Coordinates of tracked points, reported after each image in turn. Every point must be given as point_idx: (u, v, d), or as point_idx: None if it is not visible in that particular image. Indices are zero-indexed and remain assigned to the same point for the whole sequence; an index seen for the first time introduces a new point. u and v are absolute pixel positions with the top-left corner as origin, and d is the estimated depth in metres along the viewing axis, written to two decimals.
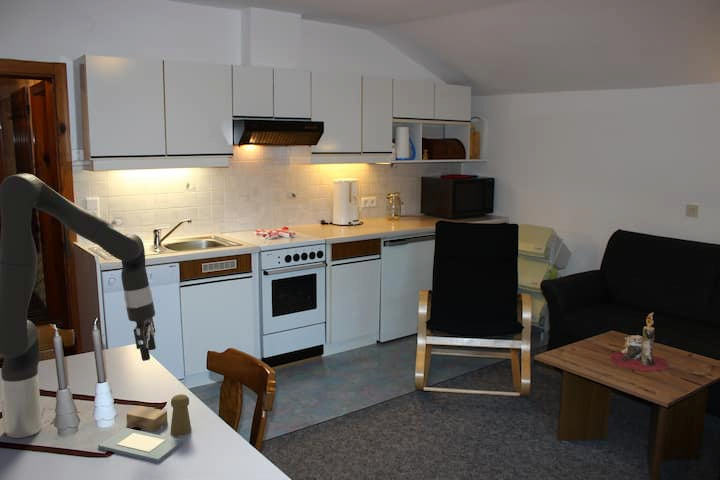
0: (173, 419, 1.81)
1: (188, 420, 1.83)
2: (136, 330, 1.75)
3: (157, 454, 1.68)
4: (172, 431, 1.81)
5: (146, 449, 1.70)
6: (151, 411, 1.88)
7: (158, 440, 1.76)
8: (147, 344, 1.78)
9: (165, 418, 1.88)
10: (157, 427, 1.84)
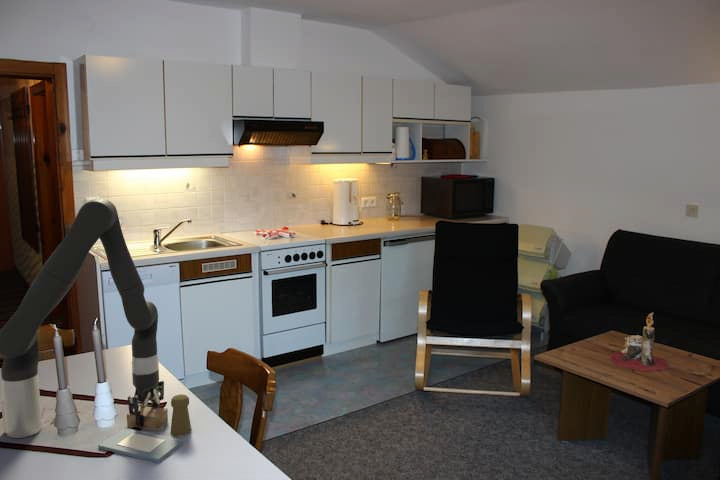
0: (173, 419, 1.81)
1: (188, 420, 1.83)
2: (129, 398, 1.80)
3: (157, 454, 1.68)
4: (172, 431, 1.81)
5: (146, 449, 1.70)
6: (151, 410, 1.88)
7: (158, 440, 1.76)
8: (142, 412, 1.83)
9: (166, 416, 1.89)
10: (160, 425, 1.85)
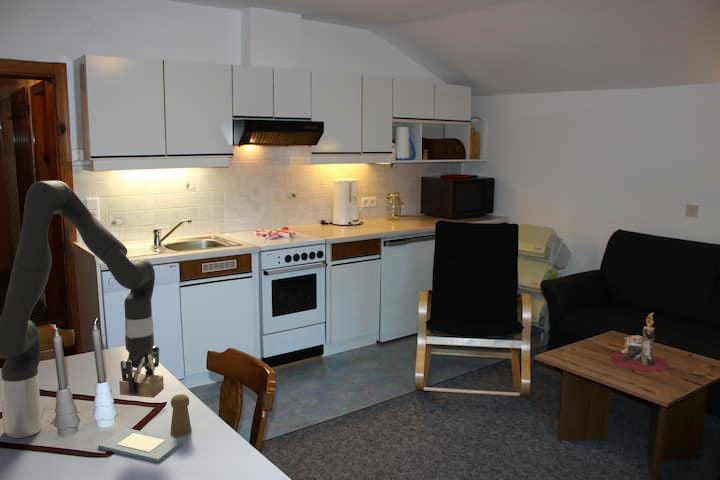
0: (173, 419, 1.81)
1: (188, 420, 1.83)
2: (122, 363, 1.67)
3: (157, 454, 1.68)
4: (172, 431, 1.81)
5: (146, 449, 1.70)
6: (145, 377, 1.75)
7: (158, 440, 1.76)
8: (136, 378, 1.70)
9: (162, 383, 1.76)
10: (156, 392, 1.73)
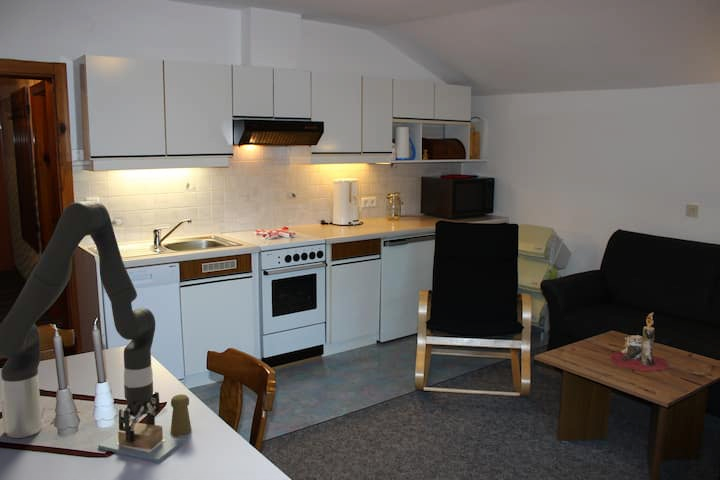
0: (173, 419, 1.81)
1: (188, 420, 1.83)
2: (121, 411, 1.66)
3: (157, 454, 1.68)
4: (172, 431, 1.81)
5: (146, 449, 1.70)
6: (144, 427, 1.75)
7: None
8: (132, 427, 1.69)
9: (160, 433, 1.75)
10: (154, 444, 1.72)
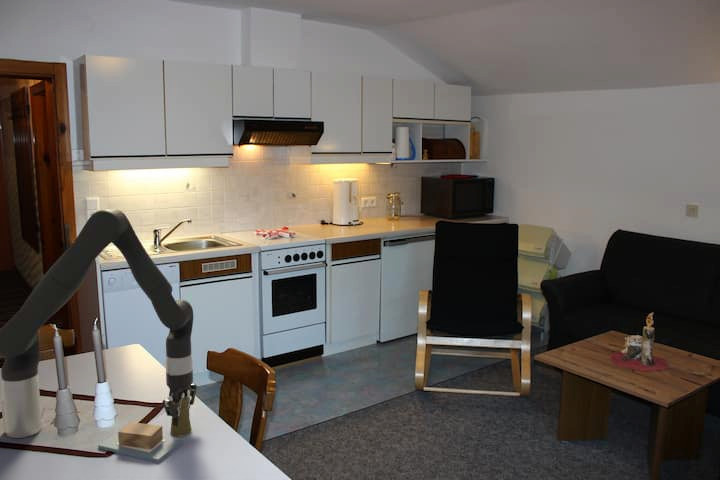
0: None
1: (188, 420, 1.83)
2: (164, 403, 1.76)
3: (157, 454, 1.68)
4: (172, 431, 1.81)
5: (146, 449, 1.70)
6: (144, 427, 1.75)
7: None
8: (179, 413, 1.80)
9: (160, 433, 1.75)
10: (154, 444, 1.72)
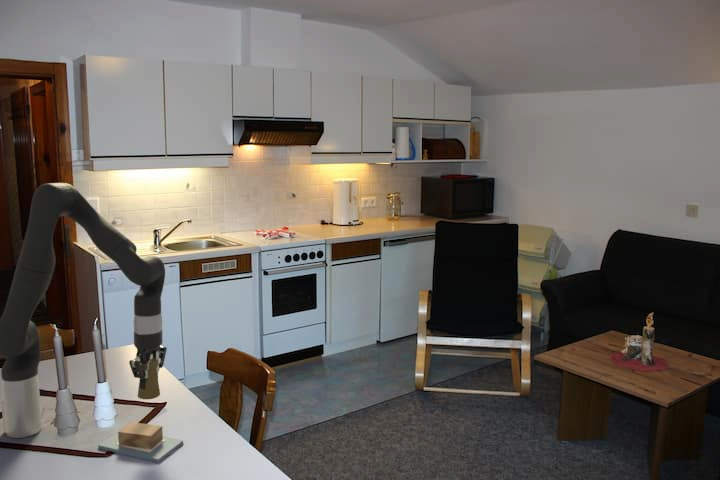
0: None
1: (156, 383, 1.74)
2: (131, 363, 1.67)
3: (157, 454, 1.68)
4: (139, 394, 1.72)
5: (146, 449, 1.70)
6: (144, 427, 1.75)
7: None
8: (147, 375, 1.71)
9: (160, 433, 1.75)
10: (154, 444, 1.72)
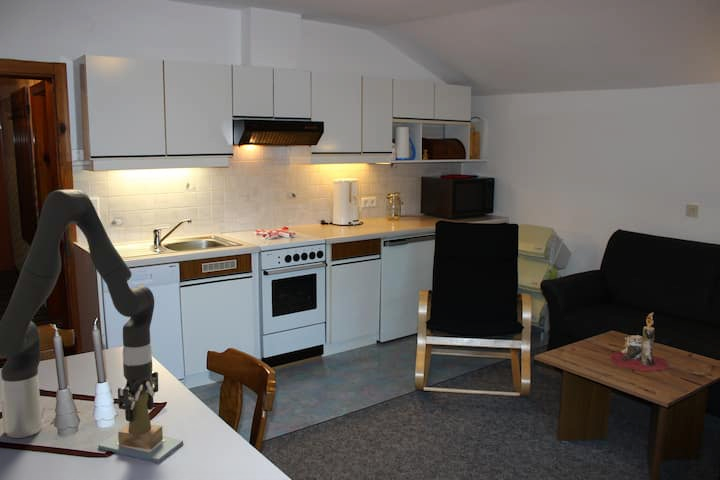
0: None
1: (147, 417, 1.73)
2: (120, 390, 1.65)
3: (157, 454, 1.68)
4: (130, 429, 1.71)
5: (146, 449, 1.70)
6: None
7: None
8: (132, 406, 1.68)
9: (160, 433, 1.75)
10: (154, 444, 1.72)
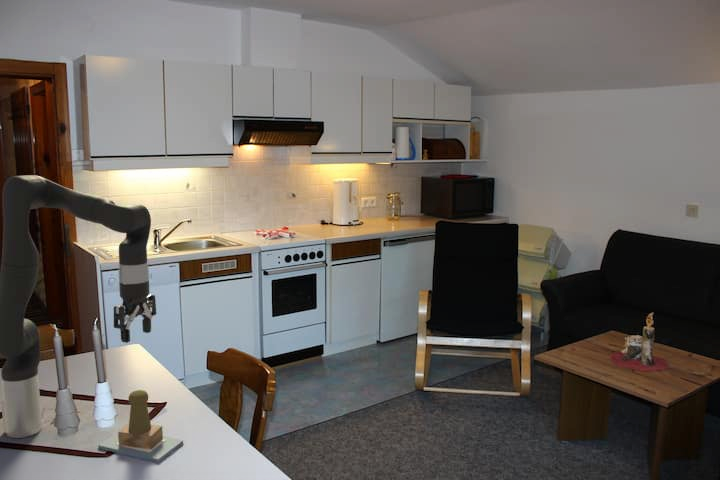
0: (131, 416, 1.71)
1: (147, 417, 1.73)
2: (116, 308, 1.61)
3: (157, 454, 1.68)
4: (130, 429, 1.71)
5: (146, 449, 1.70)
6: None
7: None
8: (128, 325, 1.64)
9: (160, 433, 1.75)
10: (154, 444, 1.72)
